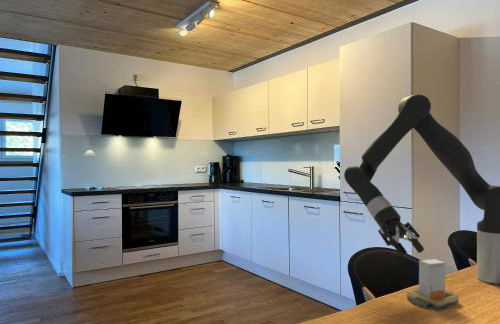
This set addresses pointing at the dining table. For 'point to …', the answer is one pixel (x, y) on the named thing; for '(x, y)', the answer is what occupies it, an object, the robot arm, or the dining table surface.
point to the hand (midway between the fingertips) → (413, 253)
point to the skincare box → (432, 279)
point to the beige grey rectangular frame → (433, 300)
